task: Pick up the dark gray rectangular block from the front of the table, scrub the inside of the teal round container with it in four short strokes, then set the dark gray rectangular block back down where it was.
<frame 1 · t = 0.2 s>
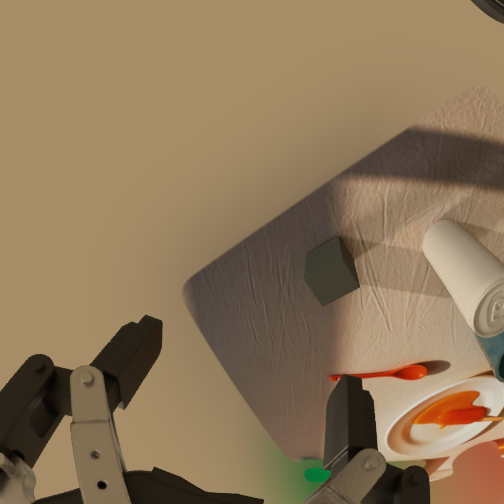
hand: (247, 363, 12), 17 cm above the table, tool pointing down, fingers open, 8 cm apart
beverage can: (441, 240, 25), on the table
dark gray rectangular block: (330, 257, 28), on the table
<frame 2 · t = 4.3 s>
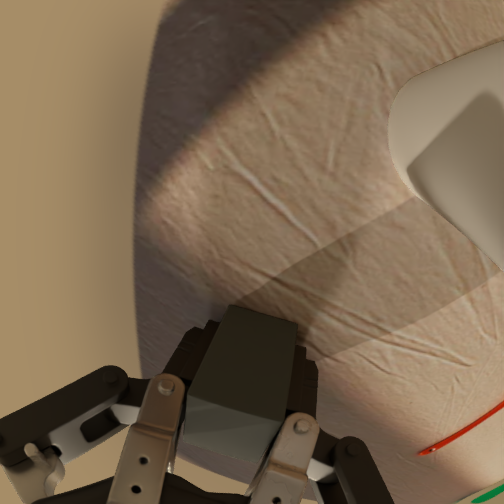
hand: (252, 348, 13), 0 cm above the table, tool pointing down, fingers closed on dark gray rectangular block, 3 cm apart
beverage can: (443, 138, 8), on the table
dark gray rectangular block: (254, 343, 13), on the table, touching gripper
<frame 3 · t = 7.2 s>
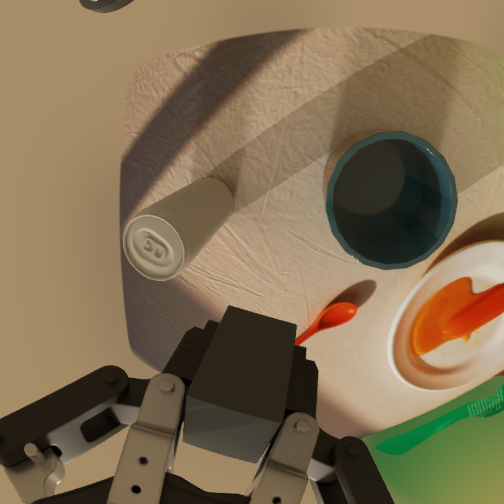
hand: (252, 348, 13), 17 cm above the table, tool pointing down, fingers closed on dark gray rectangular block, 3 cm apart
beverage can: (212, 199, 29), on the table
teal round container: (376, 184, 25), on the table
dark gray rectangular block: (253, 344, 13), point 17 cm above the table, touching gripper
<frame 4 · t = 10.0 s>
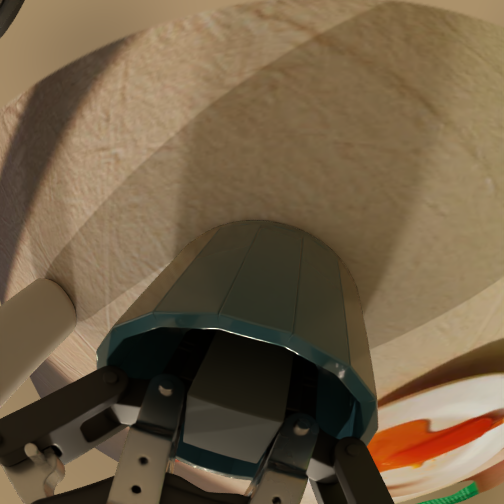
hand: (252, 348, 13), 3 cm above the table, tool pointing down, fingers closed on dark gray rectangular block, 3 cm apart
beverage can: (59, 301, 19), on the table
teal round container: (260, 314, 15), on the table, touching gripper, hand
dark gray rectangular block: (254, 344, 13), point 2 cm above the table, touching gripper
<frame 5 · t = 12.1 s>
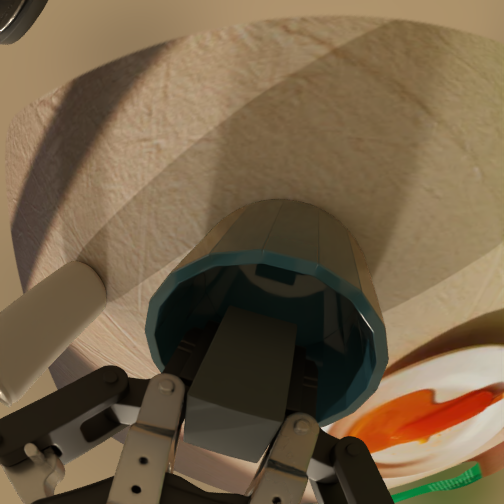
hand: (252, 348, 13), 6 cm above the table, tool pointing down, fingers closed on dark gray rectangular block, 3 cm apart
beverage can: (88, 284, 21), on the table
teal round container: (281, 282, 17), on the table
dark gray rectangular block: (254, 344, 13), point 5 cm above the table, touching gripper
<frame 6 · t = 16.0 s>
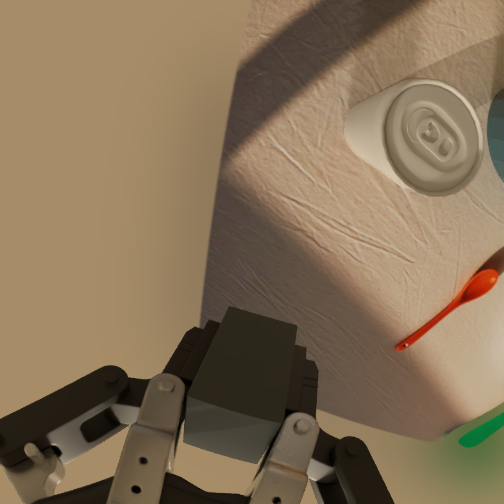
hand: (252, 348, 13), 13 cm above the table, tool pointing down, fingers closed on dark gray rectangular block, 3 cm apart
beverage can: (373, 130, 20), on the table
dark gray rectangular block: (254, 345, 13), point 13 cm above the table, touching gripper
when the fingers open (0 cm above the table, at t = 19.1 s): dark gray rectangular block stays where it is, on the table.
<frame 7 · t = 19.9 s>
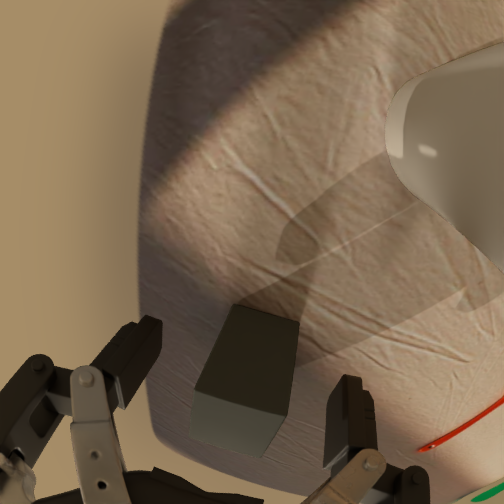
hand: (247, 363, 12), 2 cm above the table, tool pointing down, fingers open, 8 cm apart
beverage can: (439, 139, 9), on the table
dark gray rectangular block: (257, 342, 13), on the table
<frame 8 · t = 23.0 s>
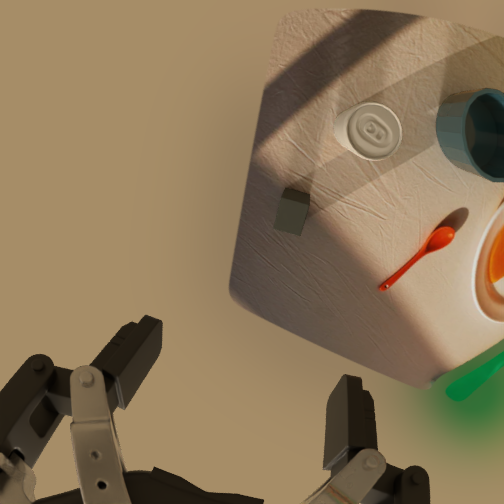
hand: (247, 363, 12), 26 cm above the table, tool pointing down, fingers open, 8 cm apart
beverage can: (353, 129, 30), on the table
teal round container: (469, 131, 27), on the table
dark gray rectangular block: (294, 205, 35), on the table
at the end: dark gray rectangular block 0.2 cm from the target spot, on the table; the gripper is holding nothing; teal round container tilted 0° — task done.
